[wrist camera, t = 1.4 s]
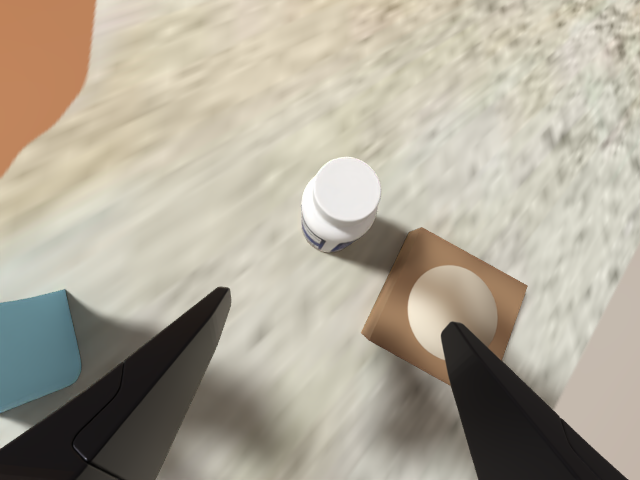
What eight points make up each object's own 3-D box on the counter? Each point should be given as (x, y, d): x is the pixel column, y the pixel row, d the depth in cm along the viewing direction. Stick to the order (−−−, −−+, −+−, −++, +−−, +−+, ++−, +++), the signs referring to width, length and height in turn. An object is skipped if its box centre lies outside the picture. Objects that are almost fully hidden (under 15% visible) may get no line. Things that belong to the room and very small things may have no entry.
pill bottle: (358, 204, 23) (398, 153, 13) (351, 256, 22) (390, 241, 12) (305, 196, 23) (309, 137, 13) (297, 248, 22) (294, 226, 12)
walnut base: (464, 390, 21) (488, 406, 18) (361, 332, 21) (369, 341, 18) (503, 284, 23) (529, 285, 20) (408, 232, 23) (422, 226, 20)
